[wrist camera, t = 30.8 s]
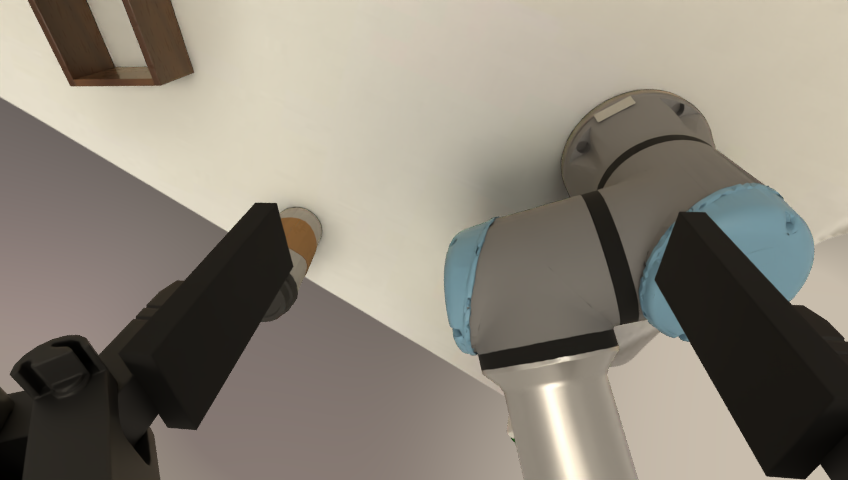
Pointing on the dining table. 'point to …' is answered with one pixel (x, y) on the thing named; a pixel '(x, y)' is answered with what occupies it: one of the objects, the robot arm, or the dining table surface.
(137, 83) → the caddy
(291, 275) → the coffee cup
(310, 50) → the dining table surface
